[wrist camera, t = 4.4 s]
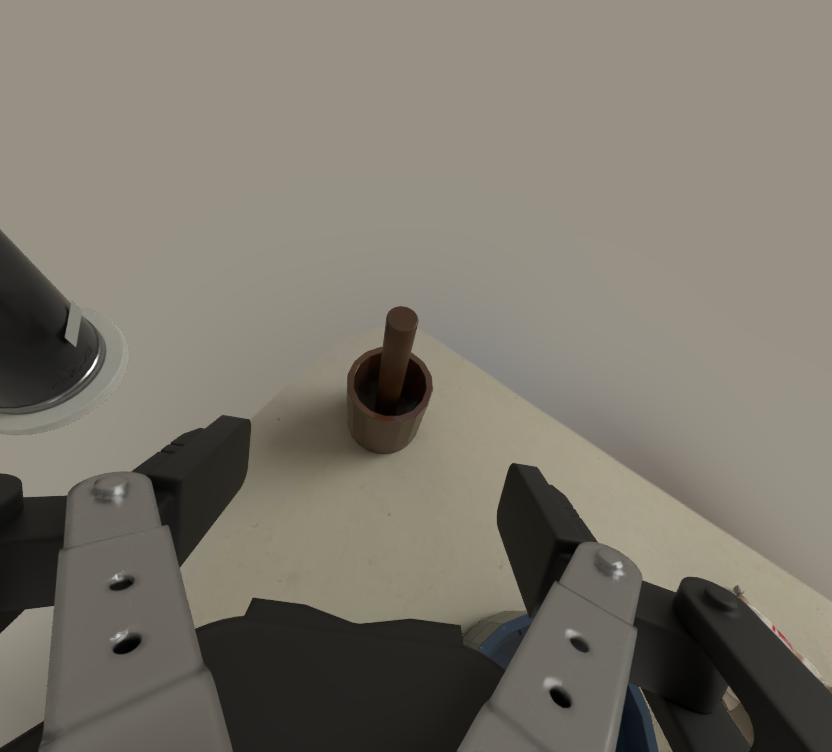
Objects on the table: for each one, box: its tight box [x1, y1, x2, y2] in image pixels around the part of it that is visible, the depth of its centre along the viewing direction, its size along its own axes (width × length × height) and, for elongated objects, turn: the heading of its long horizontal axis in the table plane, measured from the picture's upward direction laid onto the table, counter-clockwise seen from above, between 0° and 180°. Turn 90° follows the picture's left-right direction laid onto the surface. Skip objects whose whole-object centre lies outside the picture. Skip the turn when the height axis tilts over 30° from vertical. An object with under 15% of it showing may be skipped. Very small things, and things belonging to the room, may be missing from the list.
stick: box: [374, 306, 418, 416], centre depth 28 cm, size 2×2×14 cm
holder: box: [347, 347, 433, 454], centre depth 31 cm, size 6×6×7 cm
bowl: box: [462, 611, 659, 752], centre depth 24 cm, size 12×12×5 cm
